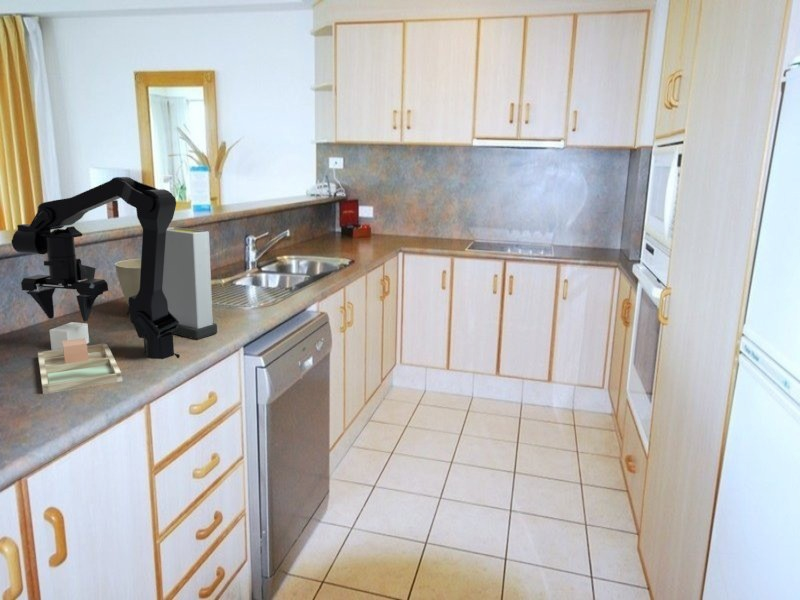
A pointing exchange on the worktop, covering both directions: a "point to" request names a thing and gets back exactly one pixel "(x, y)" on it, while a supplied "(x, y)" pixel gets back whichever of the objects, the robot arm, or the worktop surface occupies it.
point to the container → (188, 281)
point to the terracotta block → (75, 350)
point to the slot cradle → (78, 369)
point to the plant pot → (129, 276)
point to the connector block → (68, 334)
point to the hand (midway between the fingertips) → (68, 319)
